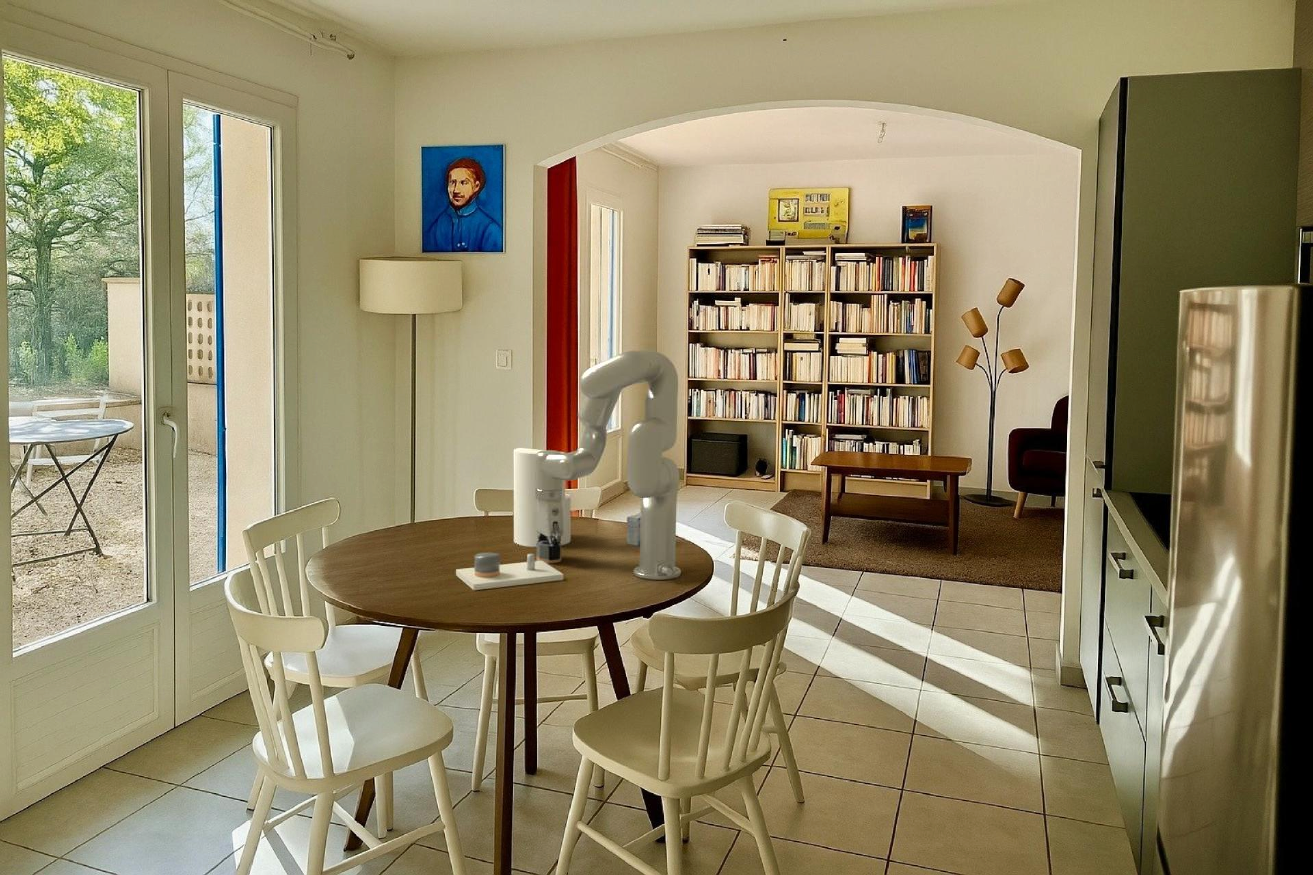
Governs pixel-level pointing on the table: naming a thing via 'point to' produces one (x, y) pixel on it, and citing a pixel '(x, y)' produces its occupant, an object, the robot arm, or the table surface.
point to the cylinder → (532, 500)
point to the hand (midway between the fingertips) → (548, 555)
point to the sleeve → (544, 552)
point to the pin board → (506, 572)
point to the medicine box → (633, 530)
